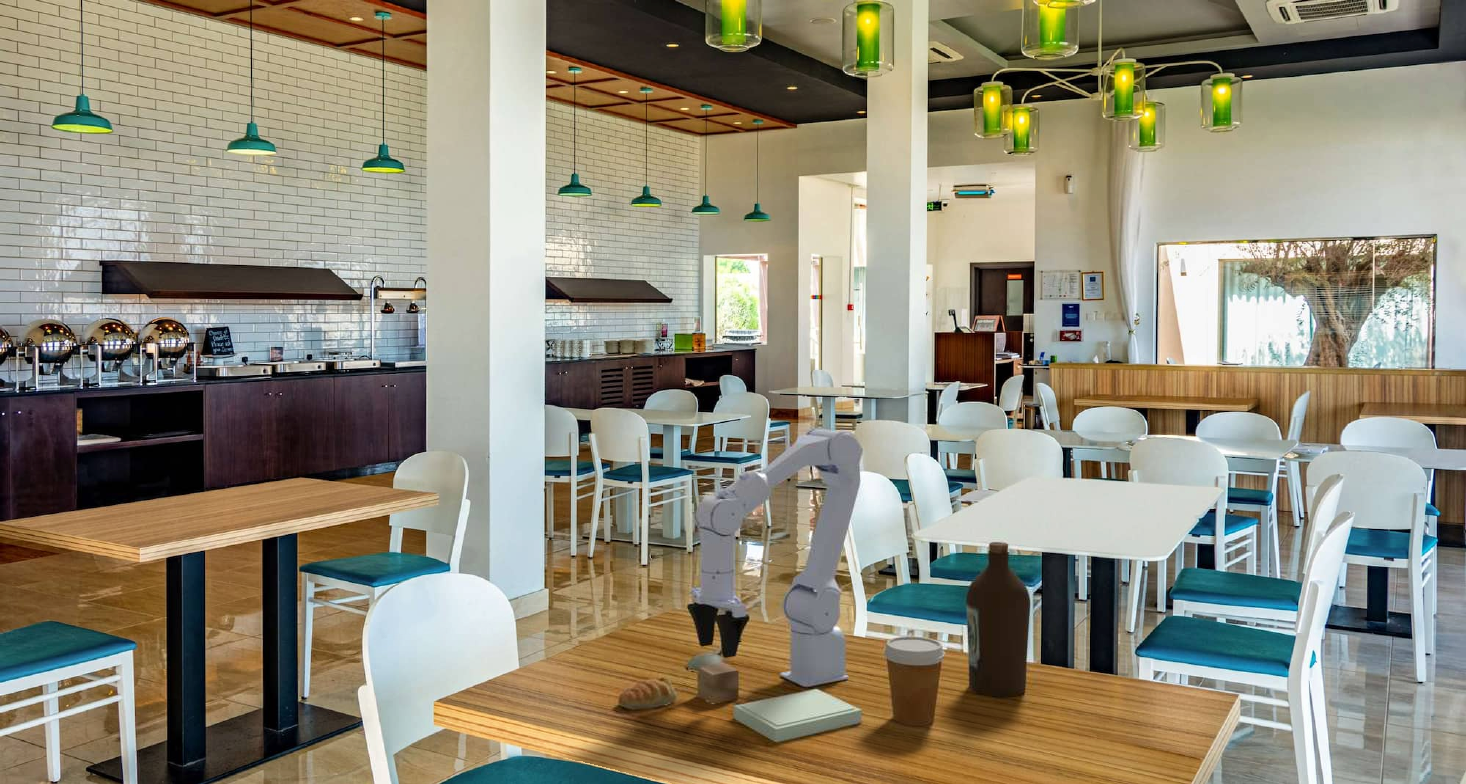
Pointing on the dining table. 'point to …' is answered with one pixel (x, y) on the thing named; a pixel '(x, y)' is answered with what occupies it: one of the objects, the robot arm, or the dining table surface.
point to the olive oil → (997, 627)
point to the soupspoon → (705, 659)
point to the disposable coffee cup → (914, 678)
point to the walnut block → (718, 682)
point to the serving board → (797, 715)
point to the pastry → (648, 694)
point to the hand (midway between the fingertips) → (717, 651)
